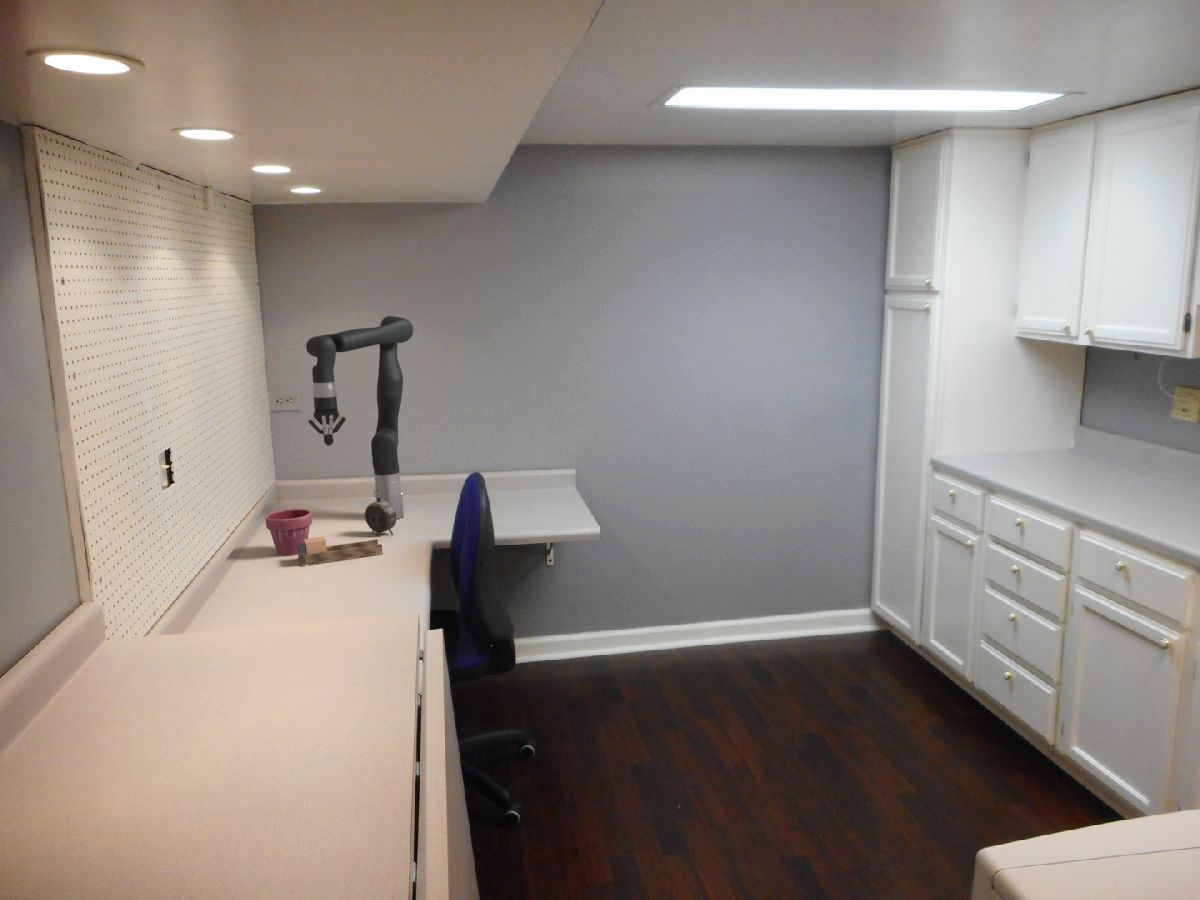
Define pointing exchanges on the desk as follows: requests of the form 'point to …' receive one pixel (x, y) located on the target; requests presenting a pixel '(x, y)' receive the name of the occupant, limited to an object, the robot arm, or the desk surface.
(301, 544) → the walnut chute
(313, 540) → the terracotta block
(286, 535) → the plant pot
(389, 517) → the alarm clock
